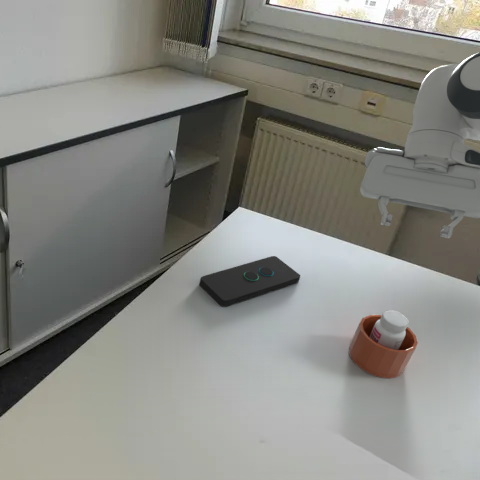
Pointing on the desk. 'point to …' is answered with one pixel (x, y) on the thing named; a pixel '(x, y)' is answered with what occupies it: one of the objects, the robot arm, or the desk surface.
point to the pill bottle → (390, 329)
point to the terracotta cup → (380, 351)
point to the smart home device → (248, 280)
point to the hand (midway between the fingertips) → (414, 230)
